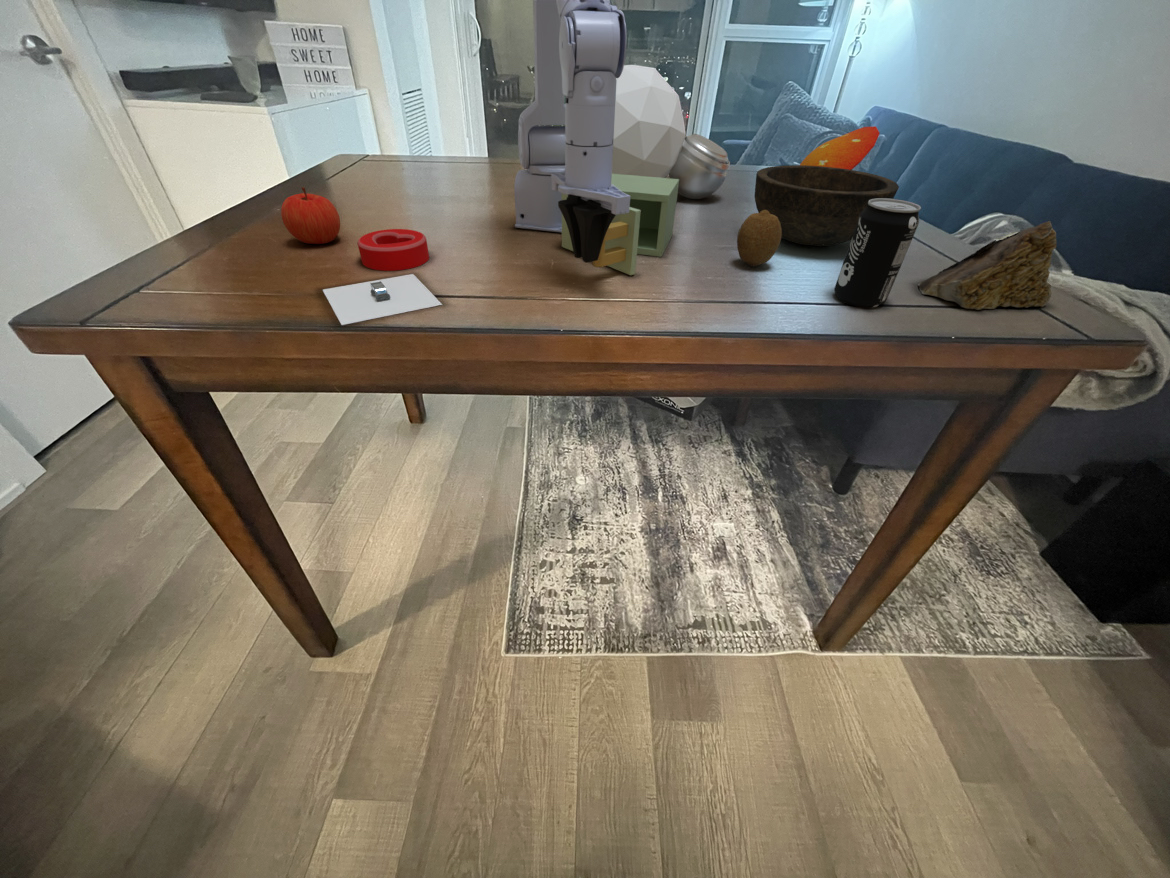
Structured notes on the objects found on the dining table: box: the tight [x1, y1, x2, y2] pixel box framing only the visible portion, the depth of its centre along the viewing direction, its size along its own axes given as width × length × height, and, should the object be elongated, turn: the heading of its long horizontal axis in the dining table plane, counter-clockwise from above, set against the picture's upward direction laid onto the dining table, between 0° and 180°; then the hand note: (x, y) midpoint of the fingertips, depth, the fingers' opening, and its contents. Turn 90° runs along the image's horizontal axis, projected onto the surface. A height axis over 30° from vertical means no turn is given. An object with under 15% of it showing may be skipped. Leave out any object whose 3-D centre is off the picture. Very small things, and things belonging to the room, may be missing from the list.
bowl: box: [753, 164, 900, 247], centre depth 84 cm, size 22×22×10 cm
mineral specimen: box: [917, 220, 1058, 311], centre depth 69 cm, size 12×13×15 cm
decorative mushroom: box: [799, 126, 880, 170], centre depth 102 cm, size 15×21×15 cm
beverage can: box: [833, 198, 922, 309], centre depth 64 cm, size 7×7×12 cm
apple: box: [280, 186, 341, 245], centre depth 78 cm, size 8×8×8 cm
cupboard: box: [611, 174, 679, 258], centre depth 82 cm, size 12×16×9 cm
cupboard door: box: [561, 194, 641, 276], centre depth 73 cm, size 6×16×9 cm, turn 40°
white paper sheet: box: [322, 273, 443, 326], centre depth 64 cm, size 12×12×2 cm
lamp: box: [612, 64, 731, 200], centre depth 104 cm, size 23×35×24 cm, turn 86°
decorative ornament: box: [357, 228, 430, 272], centre depth 74 cm, size 10×10×3 cm
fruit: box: [736, 210, 782, 267], centre depth 75 cm, size 6×6×8 cm
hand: (586, 258), depth 68 cm, fingers closed on cupboard door
